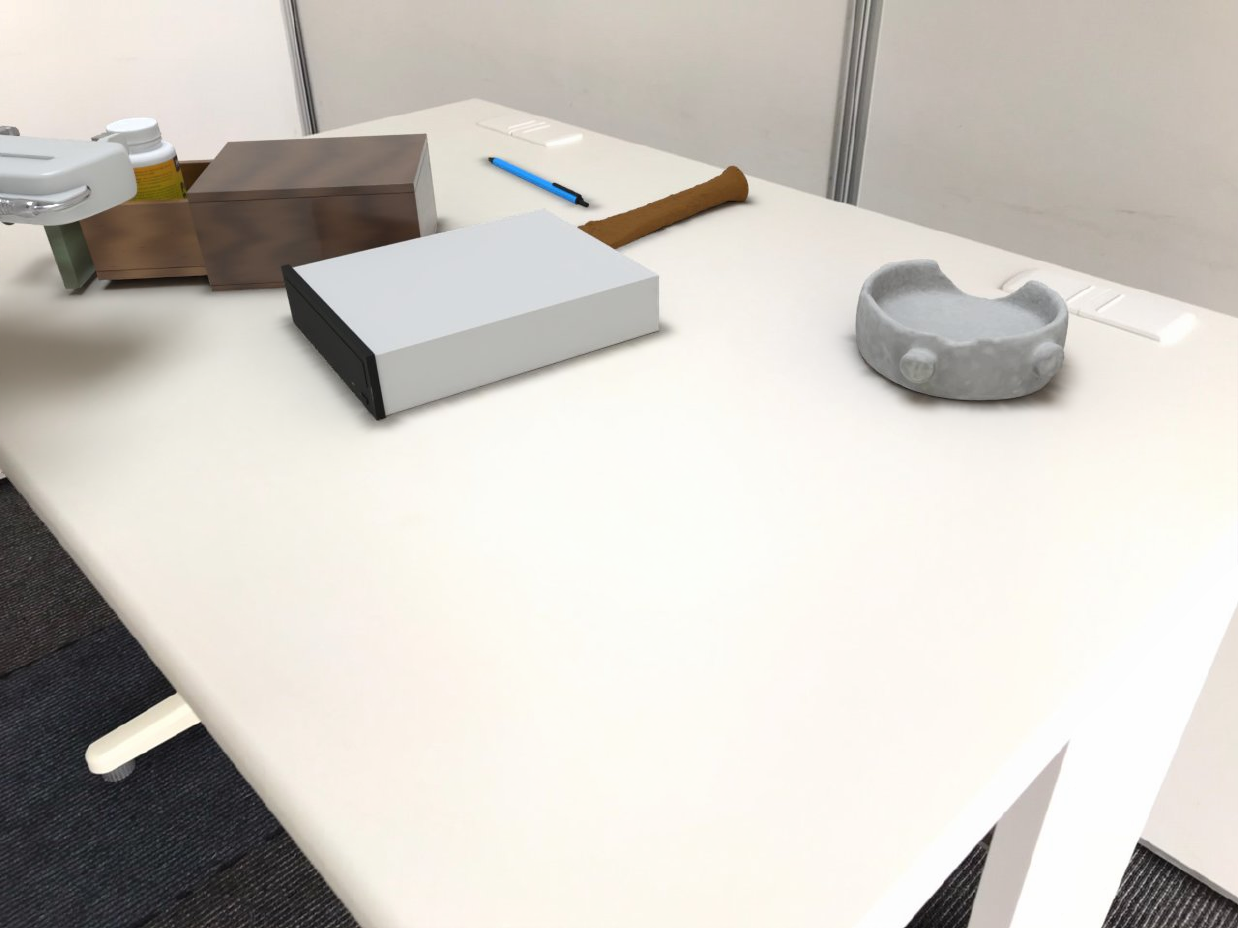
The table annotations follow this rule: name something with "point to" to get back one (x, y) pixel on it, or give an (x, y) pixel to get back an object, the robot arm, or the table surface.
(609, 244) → the primitive tool
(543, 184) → the pen
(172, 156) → the supplement bottle
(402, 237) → the cabinet
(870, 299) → the dish
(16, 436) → the table surface
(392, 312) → the disc drive
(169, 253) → the drawer
